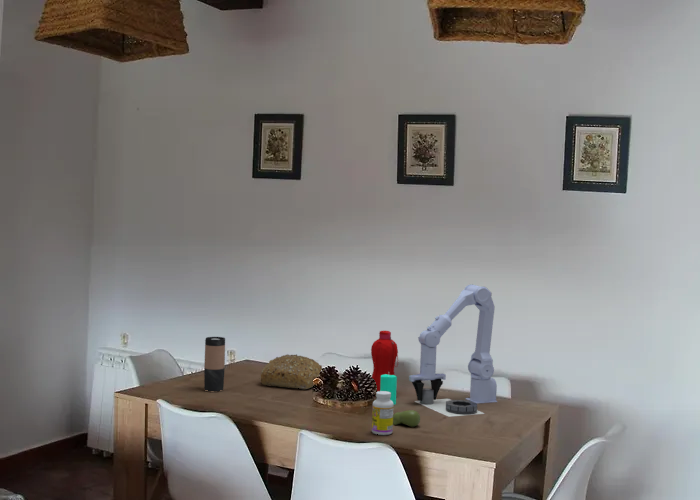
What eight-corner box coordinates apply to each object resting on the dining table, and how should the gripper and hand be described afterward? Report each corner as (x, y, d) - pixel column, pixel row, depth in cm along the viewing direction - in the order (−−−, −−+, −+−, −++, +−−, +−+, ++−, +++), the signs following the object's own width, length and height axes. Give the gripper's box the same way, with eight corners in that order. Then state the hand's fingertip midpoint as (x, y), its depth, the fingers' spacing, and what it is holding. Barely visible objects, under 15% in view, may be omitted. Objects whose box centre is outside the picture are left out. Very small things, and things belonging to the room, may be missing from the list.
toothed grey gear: (465, 406, 289) (465, 399, 289) (483, 413, 279) (483, 405, 279) (439, 408, 285) (440, 401, 284) (456, 415, 275) (456, 408, 274)
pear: (415, 411, 256) (387, 412, 261) (417, 428, 256) (389, 428, 261) (421, 408, 261) (394, 409, 266) (423, 424, 261) (396, 425, 266)
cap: (428, 401, 295) (429, 387, 295) (435, 404, 291) (436, 390, 291) (417, 402, 293) (417, 388, 293) (424, 405, 289) (424, 390, 288)
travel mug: (228, 390, 304) (229, 338, 303) (214, 393, 298) (216, 340, 297) (213, 387, 308) (214, 336, 307) (199, 390, 302) (200, 338, 301)
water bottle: (389, 400, 296) (392, 333, 295) (365, 395, 302) (368, 330, 301) (403, 396, 303) (405, 331, 302) (379, 392, 310) (382, 328, 309)
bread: (254, 386, 312) (255, 356, 312) (276, 377, 333) (277, 348, 332) (312, 393, 305) (313, 362, 304) (330, 382, 325) (331, 353, 325)
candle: (394, 406, 286) (395, 373, 286) (378, 405, 287) (379, 372, 287) (397, 403, 292) (398, 370, 292) (381, 401, 293) (382, 369, 293)
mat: (448, 399, 301) (448, 398, 301) (485, 414, 279) (485, 413, 279) (414, 402, 294) (414, 401, 294) (448, 417, 273) (448, 416, 273)
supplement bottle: (370, 429, 253) (371, 390, 253) (391, 430, 254) (392, 390, 254) (372, 435, 247) (374, 394, 246) (393, 435, 247) (395, 395, 247)
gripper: (439, 360, 298) (437, 396, 299) (405, 362, 292) (404, 398, 293) (449, 363, 292) (447, 400, 292) (415, 365, 286) (413, 402, 286)
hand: (426, 399), depth 292 cm, fingers open, 5 cm apart
